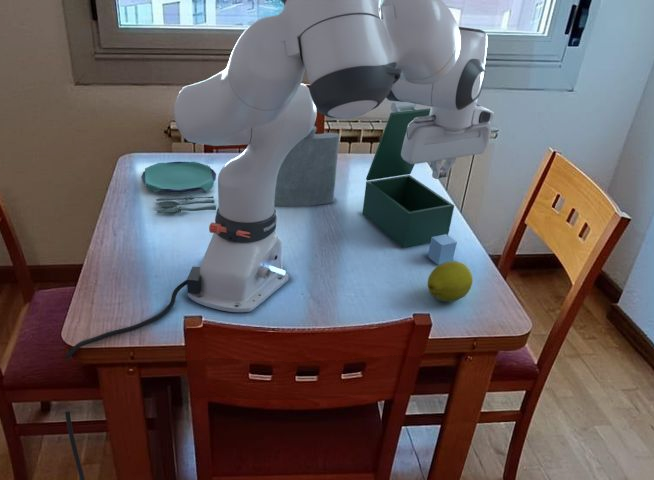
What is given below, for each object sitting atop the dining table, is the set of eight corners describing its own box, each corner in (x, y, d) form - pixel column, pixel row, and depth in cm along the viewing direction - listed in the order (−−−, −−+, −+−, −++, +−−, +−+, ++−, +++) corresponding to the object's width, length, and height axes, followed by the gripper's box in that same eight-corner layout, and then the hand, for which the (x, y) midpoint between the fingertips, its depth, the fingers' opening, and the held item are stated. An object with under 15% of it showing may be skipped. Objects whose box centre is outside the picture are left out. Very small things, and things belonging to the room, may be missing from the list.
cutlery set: (213, 166, 176) (212, 158, 175) (224, 213, 153) (224, 204, 151) (141, 169, 173) (140, 161, 171) (141, 217, 149) (140, 208, 148)
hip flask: (331, 197, 163) (338, 122, 151) (336, 204, 160) (343, 127, 148) (272, 201, 159) (274, 124, 148) (275, 208, 156) (278, 130, 145)
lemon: (453, 283, 131) (461, 250, 126) (478, 302, 125) (487, 268, 120) (412, 294, 126) (418, 260, 122) (435, 314, 121) (443, 280, 116)
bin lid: (439, 109, 139) (427, 93, 142) (392, 114, 135) (380, 98, 137) (410, 174, 155) (399, 158, 157) (366, 180, 150) (357, 165, 153)
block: (452, 261, 138) (457, 242, 135) (438, 265, 137) (442, 245, 134) (442, 253, 141) (446, 234, 138) (427, 256, 139) (431, 236, 137)
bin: (447, 239, 147) (454, 205, 142) (402, 248, 142) (408, 213, 137) (404, 206, 160) (409, 174, 155) (362, 214, 156) (366, 181, 151)
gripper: (418, 123, 119) (407, 189, 127) (500, 112, 127) (485, 176, 135) (400, 113, 124) (391, 178, 132) (480, 104, 131) (467, 166, 139)
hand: (439, 177), depth 133 cm, fingers closed
